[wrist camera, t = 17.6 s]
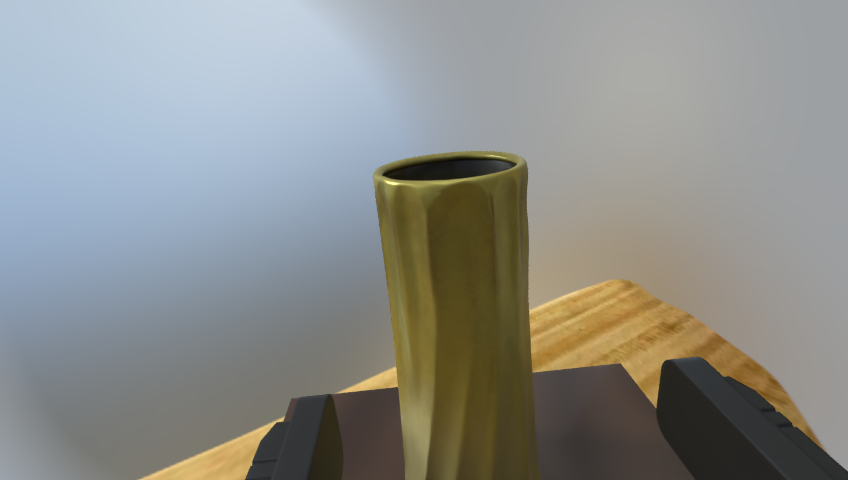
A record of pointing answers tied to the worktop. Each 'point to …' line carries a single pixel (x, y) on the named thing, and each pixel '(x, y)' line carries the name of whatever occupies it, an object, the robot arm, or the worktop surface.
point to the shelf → (555, 429)
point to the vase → (460, 313)
